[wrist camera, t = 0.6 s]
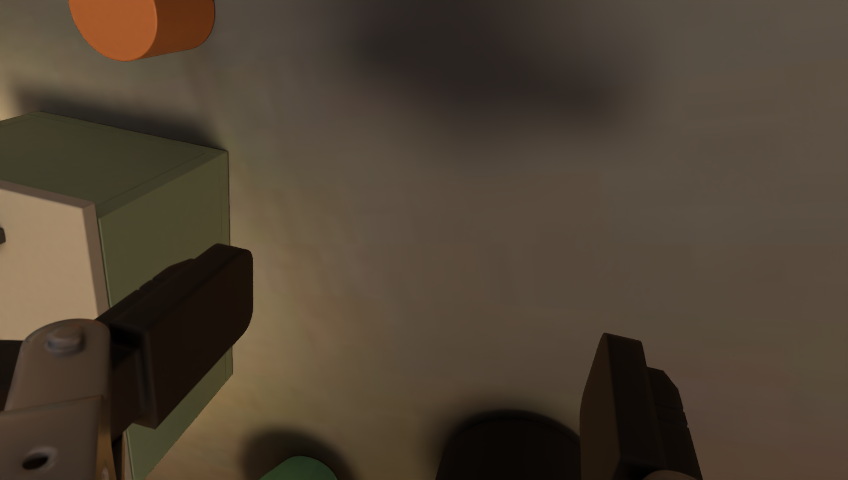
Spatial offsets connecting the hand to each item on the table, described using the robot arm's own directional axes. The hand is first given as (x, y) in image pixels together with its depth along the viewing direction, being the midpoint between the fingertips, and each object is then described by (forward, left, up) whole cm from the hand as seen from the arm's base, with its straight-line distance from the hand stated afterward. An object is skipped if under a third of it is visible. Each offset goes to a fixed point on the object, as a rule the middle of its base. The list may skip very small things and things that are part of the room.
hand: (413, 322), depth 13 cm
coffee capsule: (-3, -18, -19) cm, 26 cm away
